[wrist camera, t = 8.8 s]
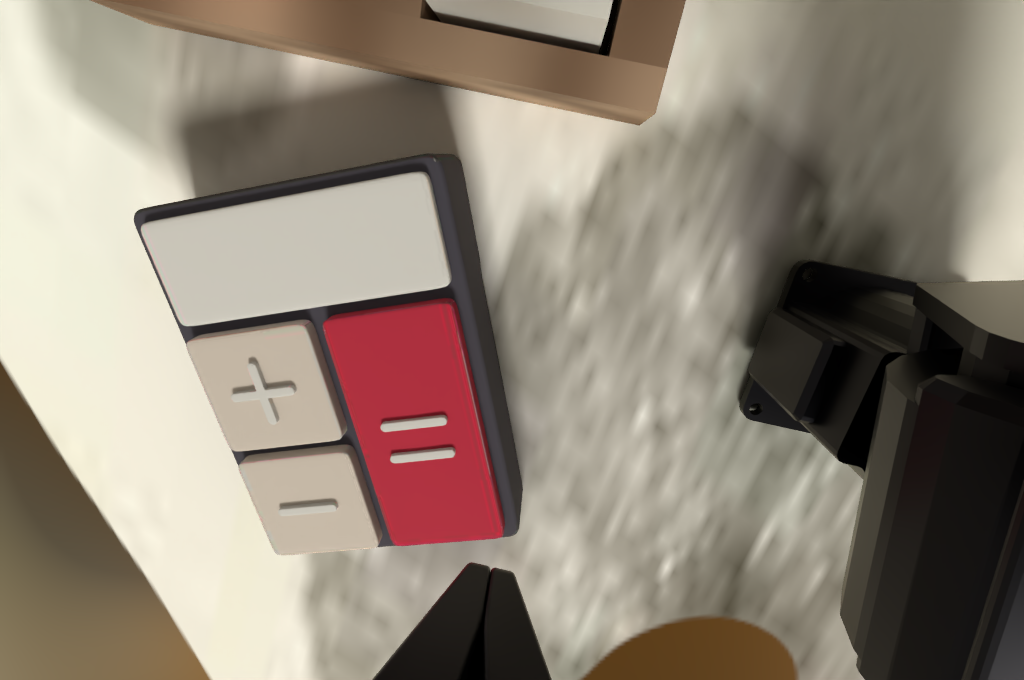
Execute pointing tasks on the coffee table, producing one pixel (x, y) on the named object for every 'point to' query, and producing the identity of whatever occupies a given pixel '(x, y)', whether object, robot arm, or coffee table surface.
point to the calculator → (347, 353)
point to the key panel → (447, 47)
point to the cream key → (532, 19)
